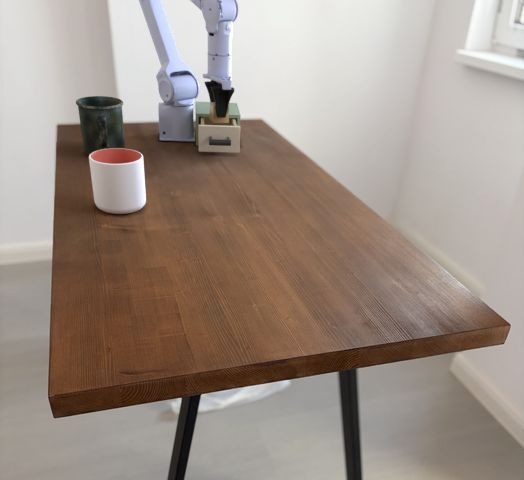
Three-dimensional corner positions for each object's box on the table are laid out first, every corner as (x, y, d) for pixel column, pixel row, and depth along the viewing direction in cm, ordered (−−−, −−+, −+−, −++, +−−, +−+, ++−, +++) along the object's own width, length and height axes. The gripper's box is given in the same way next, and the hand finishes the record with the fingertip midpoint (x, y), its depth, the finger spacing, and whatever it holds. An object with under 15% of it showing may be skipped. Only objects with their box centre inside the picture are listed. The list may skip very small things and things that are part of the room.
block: (213, 123, 137) (213, 105, 134) (209, 118, 140) (209, 102, 137) (228, 122, 138) (229, 105, 136) (224, 118, 141) (224, 101, 139)
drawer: (240, 158, 136) (241, 132, 133) (198, 157, 135) (198, 130, 131) (236, 139, 150) (237, 114, 146) (198, 137, 149) (197, 113, 145)
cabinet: (239, 146, 147) (240, 115, 142) (196, 145, 146) (195, 113, 141) (236, 133, 158) (237, 103, 153) (195, 131, 157) (195, 101, 152)
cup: (105, 219, 104) (99, 167, 98) (88, 201, 110) (81, 151, 105) (154, 211, 109) (151, 160, 103) (134, 194, 115) (130, 145, 109)
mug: (125, 146, 142) (121, 96, 135) (130, 164, 131) (125, 110, 123) (82, 146, 139) (75, 95, 132) (82, 165, 128) (75, 110, 121)
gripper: (196, 49, 134) (196, 108, 142) (210, 59, 123) (210, 122, 131) (224, 49, 136) (223, 107, 144) (240, 59, 125) (238, 122, 133)
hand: (218, 114), depth 138 cm, fingers closed on block, 4 cm apart
